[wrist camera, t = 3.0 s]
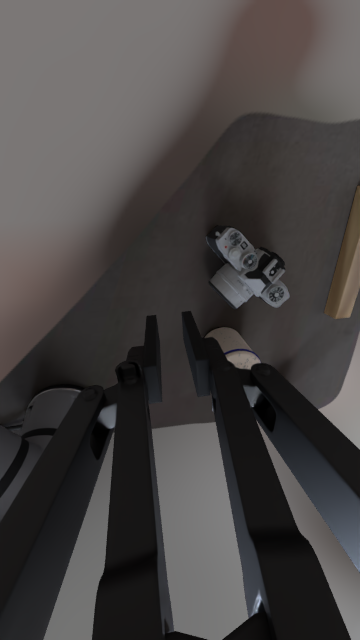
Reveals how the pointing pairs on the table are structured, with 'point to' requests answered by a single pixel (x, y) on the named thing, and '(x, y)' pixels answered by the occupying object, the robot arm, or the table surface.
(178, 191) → the table surface
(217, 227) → the camera
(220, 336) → the teacup with lid
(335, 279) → the rail
